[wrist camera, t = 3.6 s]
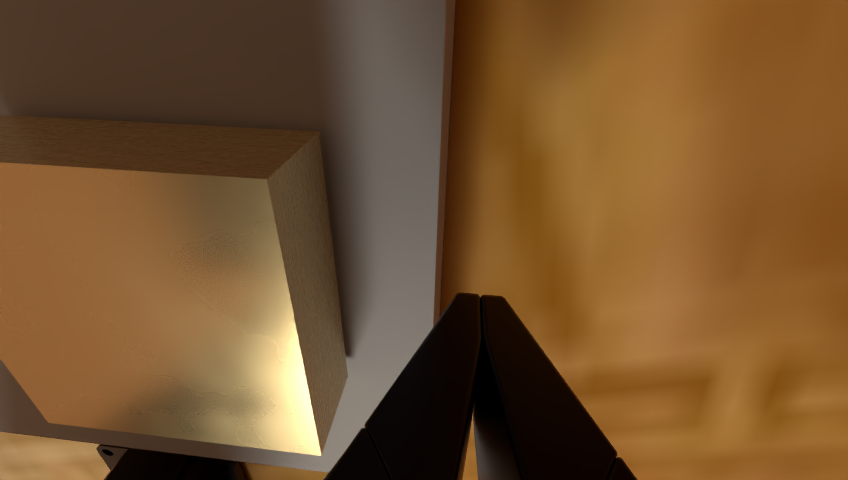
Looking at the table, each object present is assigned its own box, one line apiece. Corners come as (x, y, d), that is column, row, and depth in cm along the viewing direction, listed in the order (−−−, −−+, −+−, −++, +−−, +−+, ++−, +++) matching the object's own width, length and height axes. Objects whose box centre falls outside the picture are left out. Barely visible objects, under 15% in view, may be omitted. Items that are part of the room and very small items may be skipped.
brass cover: (347, 376, 10) (321, 455, 8) (117, 352, 10) (47, 423, 9) (319, 131, 7) (266, 179, 5) (-9, 114, 7) (-155, 152, 6)
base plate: (435, 401, 15) (426, 484, 13) (-5, 354, 17) (-92, 420, 14) (459, -70, 8) (450, -97, 5) (-331, -78, 9) (-630, -101, 7)
